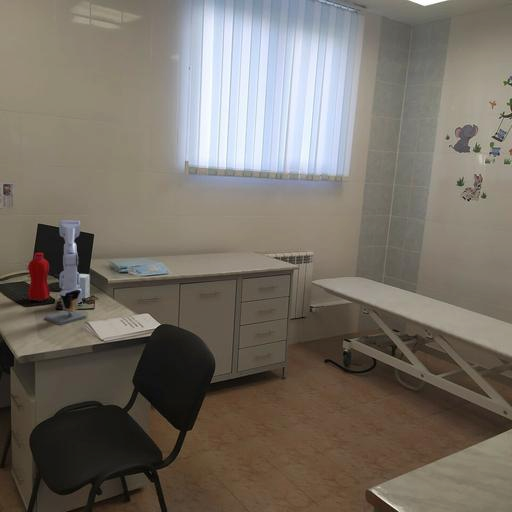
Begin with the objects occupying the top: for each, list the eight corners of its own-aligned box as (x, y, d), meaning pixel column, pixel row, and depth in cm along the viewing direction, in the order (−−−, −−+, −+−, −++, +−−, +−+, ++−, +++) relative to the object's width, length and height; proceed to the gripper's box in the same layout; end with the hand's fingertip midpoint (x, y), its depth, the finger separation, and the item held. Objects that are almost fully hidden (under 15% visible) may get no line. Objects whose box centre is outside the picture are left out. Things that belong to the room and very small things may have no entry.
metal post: (70, 317, 238) (70, 305, 237) (73, 318, 237) (73, 305, 236) (67, 317, 236) (67, 305, 235) (69, 318, 235) (70, 306, 234)
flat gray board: (70, 312, 244) (70, 310, 244) (86, 318, 238) (86, 315, 238) (44, 318, 233) (44, 316, 233) (60, 324, 226) (60, 322, 226)
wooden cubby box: (68, 308, 239) (68, 297, 238) (77, 309, 238) (78, 299, 237) (62, 310, 234) (62, 300, 233) (72, 312, 233) (72, 301, 232)
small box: (78, 296, 272) (78, 273, 270) (89, 297, 273) (90, 274, 270) (73, 300, 264) (73, 276, 262) (85, 301, 265) (85, 277, 262)
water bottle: (31, 296, 267) (30, 250, 262) (51, 297, 266) (51, 252, 262) (22, 301, 257) (22, 253, 253) (43, 302, 257) (43, 255, 253)
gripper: (70, 274, 241) (70, 301, 243) (54, 281, 226) (54, 309, 229) (84, 276, 240) (83, 303, 242) (68, 282, 225) (68, 311, 228)
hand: (70, 306), depth 235 cm, fingers closed on wooden cubby box, 5 cm apart
